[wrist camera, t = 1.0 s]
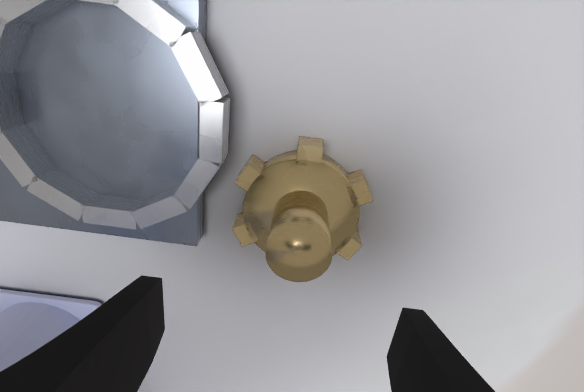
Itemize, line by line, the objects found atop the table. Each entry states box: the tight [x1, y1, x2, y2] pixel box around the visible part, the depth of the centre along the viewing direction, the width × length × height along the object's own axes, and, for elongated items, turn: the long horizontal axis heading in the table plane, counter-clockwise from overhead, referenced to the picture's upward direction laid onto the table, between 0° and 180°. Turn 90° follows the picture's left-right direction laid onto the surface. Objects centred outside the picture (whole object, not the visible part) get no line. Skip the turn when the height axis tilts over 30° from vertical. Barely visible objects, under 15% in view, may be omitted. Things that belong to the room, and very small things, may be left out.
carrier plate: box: [0, 0, 230, 246], centre depth 15 cm, size 16×15×3 cm
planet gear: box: [232, 136, 373, 282], centre depth 17 cm, size 7×7×5 cm
